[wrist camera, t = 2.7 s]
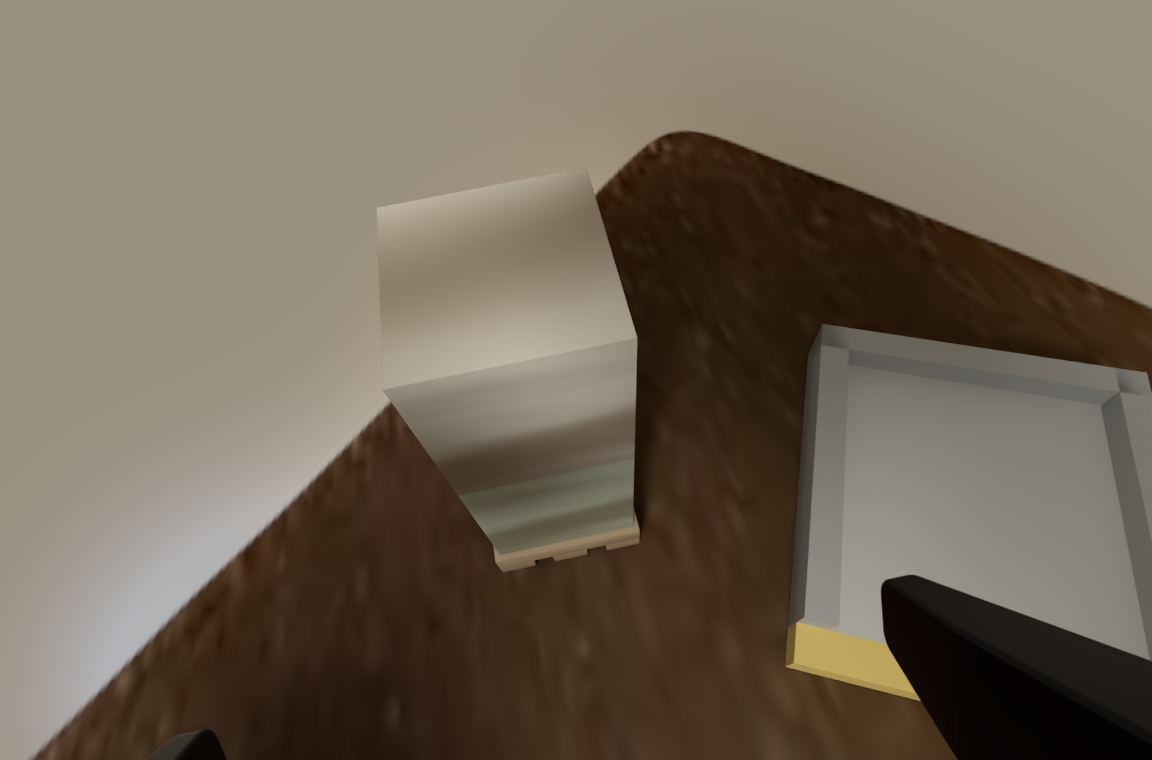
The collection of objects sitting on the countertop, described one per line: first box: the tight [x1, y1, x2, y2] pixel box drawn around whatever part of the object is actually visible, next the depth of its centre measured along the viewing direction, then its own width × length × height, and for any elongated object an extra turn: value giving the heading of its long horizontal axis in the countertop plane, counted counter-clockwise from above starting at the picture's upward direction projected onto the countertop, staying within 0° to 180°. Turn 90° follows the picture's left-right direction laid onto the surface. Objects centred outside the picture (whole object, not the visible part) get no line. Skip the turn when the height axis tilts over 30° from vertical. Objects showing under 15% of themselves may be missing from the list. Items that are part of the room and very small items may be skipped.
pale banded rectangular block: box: [377, 168, 640, 572], centre depth 18 cm, size 5×5×13 cm
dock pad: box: [785, 324, 1152, 701], centre depth 21 cm, size 12×11×2 cm
